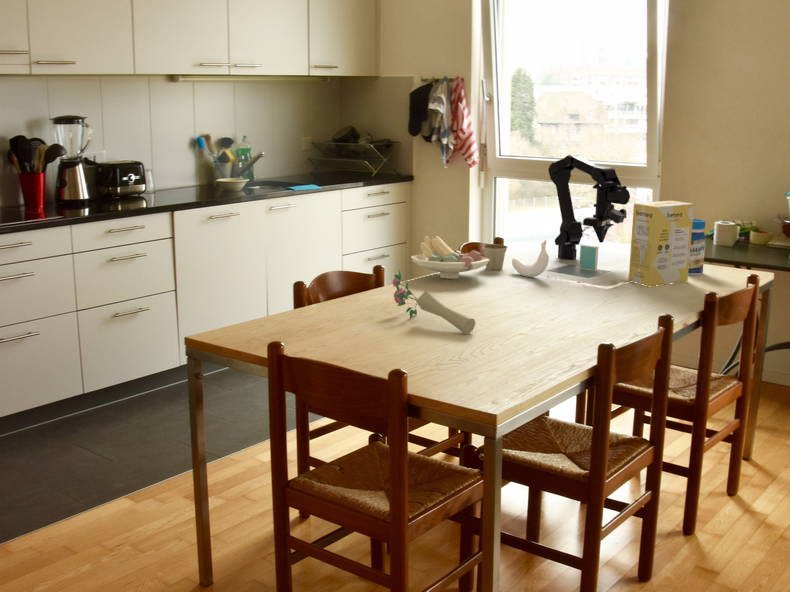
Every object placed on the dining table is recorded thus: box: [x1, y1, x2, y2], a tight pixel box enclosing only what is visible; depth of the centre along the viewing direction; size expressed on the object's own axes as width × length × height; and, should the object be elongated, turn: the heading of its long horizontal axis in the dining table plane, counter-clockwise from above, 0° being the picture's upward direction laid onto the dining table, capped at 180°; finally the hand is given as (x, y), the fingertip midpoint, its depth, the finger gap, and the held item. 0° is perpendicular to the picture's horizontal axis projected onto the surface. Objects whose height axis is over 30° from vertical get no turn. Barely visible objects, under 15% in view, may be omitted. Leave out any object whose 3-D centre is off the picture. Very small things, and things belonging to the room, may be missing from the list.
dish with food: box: [410, 235, 489, 280], centre depth 318 cm, size 28×28×14 cm
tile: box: [578, 244, 599, 271], centre depth 329 cm, size 7×1×9 cm, turn 46°
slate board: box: [545, 264, 611, 279], centre depth 328 cm, size 18×16×1 cm
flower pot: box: [482, 243, 508, 271], centre depth 334 cm, size 9×9×9 cm
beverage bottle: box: [688, 218, 707, 276], centre depth 326 cm, size 8×8×20 cm
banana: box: [511, 239, 550, 278], centre depth 320 cm, size 5×19×15 cm, turn 36°
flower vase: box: [392, 270, 476, 335], centre depth 259 cm, size 12×12×35 cm
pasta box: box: [628, 200, 695, 287], centre depth 311 cm, size 18×10×28 cm, turn 119°
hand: (601, 242), depth 334 cm, fingers closed
